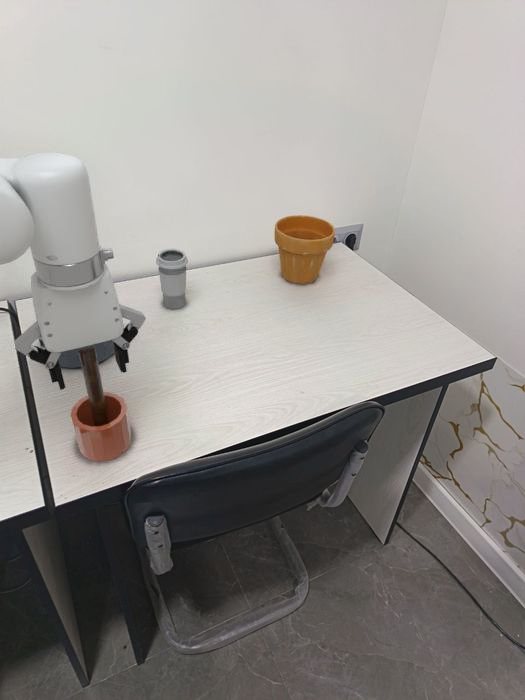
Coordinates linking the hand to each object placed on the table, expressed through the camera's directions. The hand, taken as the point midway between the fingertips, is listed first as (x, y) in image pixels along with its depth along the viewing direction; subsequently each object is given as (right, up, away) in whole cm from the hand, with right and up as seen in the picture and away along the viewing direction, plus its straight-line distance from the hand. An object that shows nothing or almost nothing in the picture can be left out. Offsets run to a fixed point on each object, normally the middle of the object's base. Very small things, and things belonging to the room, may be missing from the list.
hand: (91, 374), depth 70 cm
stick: (-1, -10, +8) cm, 13 cm away
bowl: (-11, +4, +27) cm, 30 cm away
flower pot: (+33, +22, +55) cm, 68 cm away
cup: (+4, +14, +41) cm, 44 cm away
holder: (-1, -11, +9) cm, 14 cm away
